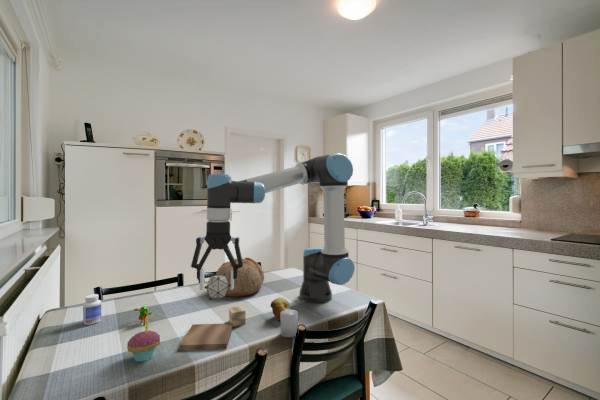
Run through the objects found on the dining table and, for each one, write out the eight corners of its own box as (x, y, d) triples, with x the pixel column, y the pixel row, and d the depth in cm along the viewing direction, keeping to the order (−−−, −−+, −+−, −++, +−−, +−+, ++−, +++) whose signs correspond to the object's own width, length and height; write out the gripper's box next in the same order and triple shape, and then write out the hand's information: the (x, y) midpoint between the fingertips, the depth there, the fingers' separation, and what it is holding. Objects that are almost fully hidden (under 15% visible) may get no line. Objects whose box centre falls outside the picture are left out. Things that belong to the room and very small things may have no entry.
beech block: (242, 318, 110) (242, 305, 110) (245, 324, 105) (245, 310, 105) (229, 321, 108) (229, 307, 108) (231, 326, 103) (231, 313, 103)
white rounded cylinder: (296, 328, 102) (296, 308, 102) (299, 336, 96) (299, 315, 96) (280, 330, 101) (279, 310, 101) (282, 338, 95) (281, 317, 95)
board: (232, 327, 102) (232, 323, 102) (226, 348, 89) (226, 343, 89) (192, 328, 101) (192, 324, 101) (179, 350, 87) (179, 345, 87)
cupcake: (136, 349, 87) (136, 310, 87) (165, 348, 88) (165, 310, 88) (121, 366, 79) (121, 323, 79) (153, 365, 79) (153, 322, 79)
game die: (219, 311, 94) (221, 293, 88) (198, 299, 95) (198, 281, 89) (234, 291, 101) (237, 273, 95) (214, 280, 102) (215, 262, 96)
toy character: (142, 334, 98) (142, 314, 97) (120, 326, 103) (120, 308, 103) (169, 321, 107) (169, 303, 107) (147, 315, 113) (147, 298, 112)
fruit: (275, 325, 105) (275, 303, 104) (266, 316, 112) (267, 296, 112) (293, 321, 108) (293, 300, 108) (284, 312, 115) (284, 293, 115)
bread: (229, 279, 159) (229, 252, 159) (269, 282, 156) (270, 254, 155) (206, 296, 133) (206, 264, 133) (254, 300, 129) (254, 266, 129)
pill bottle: (104, 320, 107) (104, 294, 107) (90, 326, 102) (89, 299, 102) (94, 317, 109) (94, 292, 109) (79, 323, 104) (79, 297, 104)
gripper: (252, 220, 100) (251, 284, 100) (187, 219, 97) (186, 285, 98) (251, 222, 92) (249, 292, 92) (180, 221, 90) (179, 292, 90)
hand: (217, 288), depth 95 cm, fingers closed on game die, 9 cm apart
